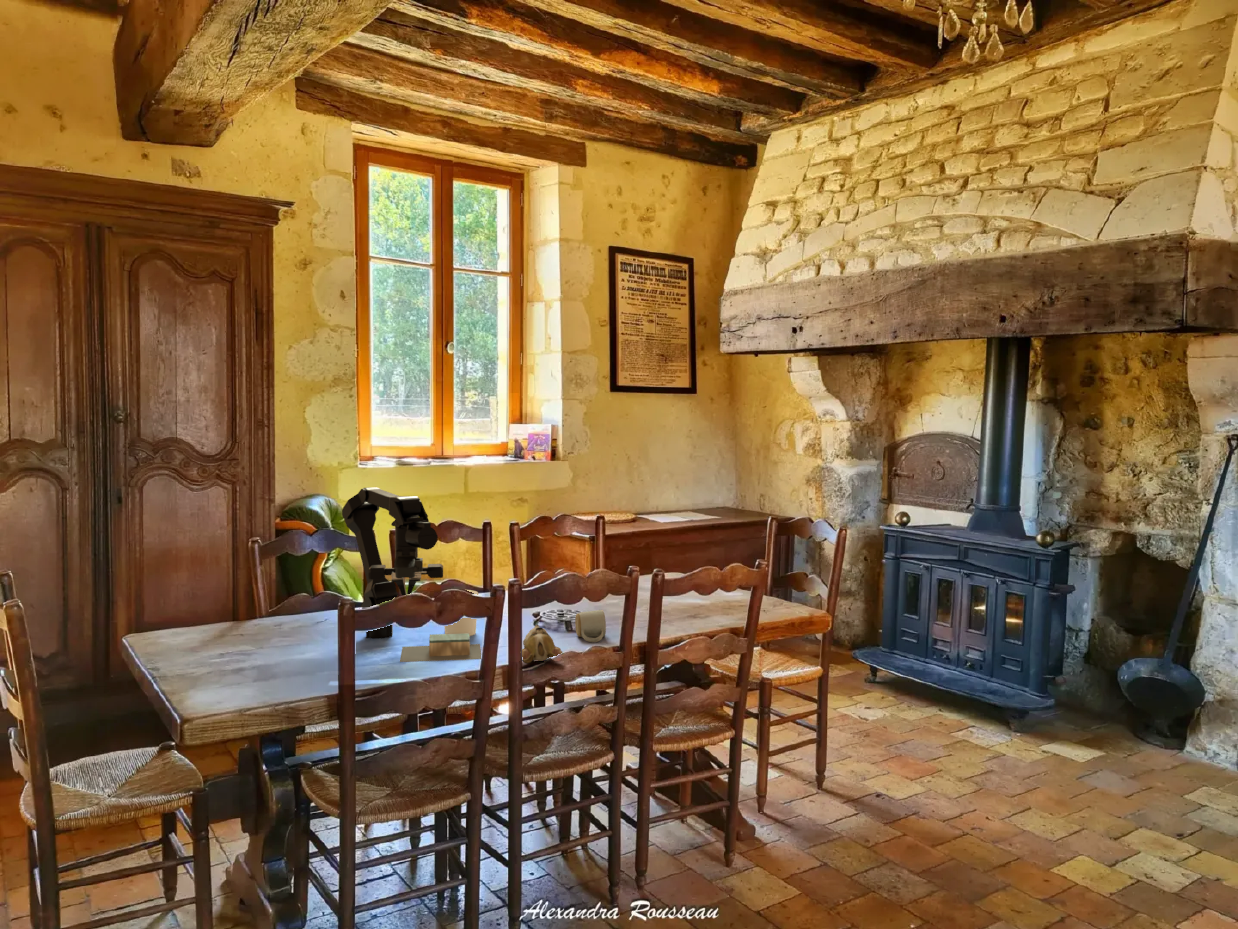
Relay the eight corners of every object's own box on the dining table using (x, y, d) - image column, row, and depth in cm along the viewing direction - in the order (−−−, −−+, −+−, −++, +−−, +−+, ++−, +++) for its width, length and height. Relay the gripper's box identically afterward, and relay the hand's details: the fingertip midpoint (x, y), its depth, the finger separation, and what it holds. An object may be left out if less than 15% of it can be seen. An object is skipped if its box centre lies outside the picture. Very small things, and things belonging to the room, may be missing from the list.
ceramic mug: (574, 633, 252) (574, 608, 252) (601, 632, 254) (601, 607, 254) (580, 644, 242) (580, 617, 242) (608, 642, 244) (609, 616, 244)
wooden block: (429, 640, 225) (469, 639, 227) (429, 634, 231) (469, 633, 233) (429, 656, 225) (469, 654, 227) (429, 649, 231) (469, 648, 233)
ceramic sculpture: (556, 618, 234) (564, 636, 219) (556, 650, 235) (564, 670, 220) (515, 620, 232) (521, 638, 217) (515, 652, 233) (521, 673, 218)
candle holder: (482, 632, 253) (482, 590, 252) (473, 641, 243) (473, 597, 242) (448, 631, 254) (448, 589, 253) (437, 640, 244) (437, 596, 243)
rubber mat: (399, 665, 220) (399, 662, 220) (402, 649, 234) (402, 646, 234) (481, 662, 224) (481, 658, 224) (480, 647, 237) (480, 644, 237)
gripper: (366, 550, 222) (366, 612, 223) (442, 549, 226) (442, 610, 227) (370, 543, 233) (370, 602, 234) (443, 542, 237) (443, 600, 238)
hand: (406, 604), depth 233 cm, fingers closed
